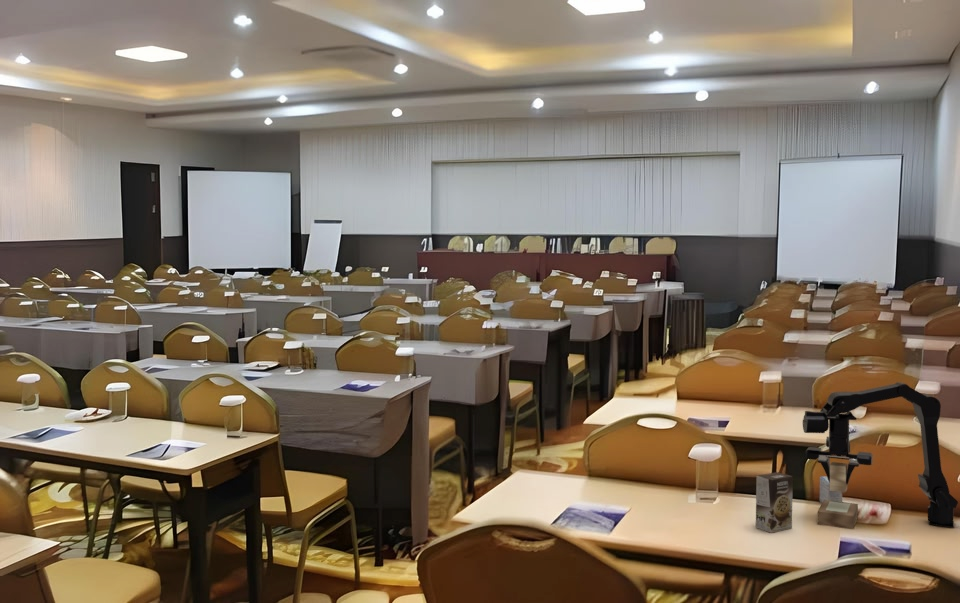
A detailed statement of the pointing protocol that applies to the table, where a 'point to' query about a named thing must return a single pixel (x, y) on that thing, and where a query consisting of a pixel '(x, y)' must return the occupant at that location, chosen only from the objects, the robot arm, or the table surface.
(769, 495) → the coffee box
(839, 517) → the walnut base
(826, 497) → the medicine box
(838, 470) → the maple block
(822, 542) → the table surface
